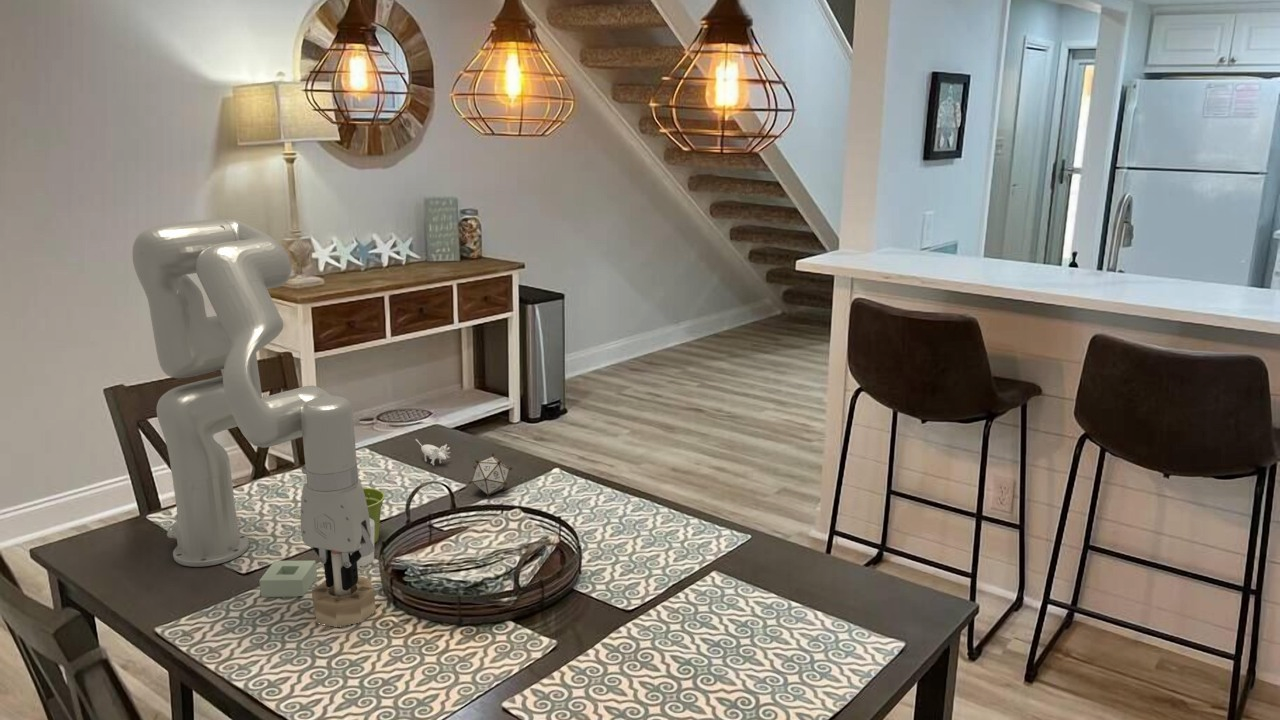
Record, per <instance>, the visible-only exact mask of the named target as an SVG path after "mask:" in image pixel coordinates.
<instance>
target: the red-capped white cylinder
mask: <svg viewBox="0 0 1280 720" xmlns="http://www.w3.org/2000/svg"><path fill="white" fill-rule="evenodd" d="M331 558H332V569H333V579H334V590H335V596H337V597H341V596H346V595H351V590H350V589H349V590H347V591H346V590H343V589H342V579H341V567H343V566H344V565H343V558H342V552H337V551H331Z"/></svg>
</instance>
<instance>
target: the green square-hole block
mask: <svg viewBox="0 0 1280 720" xmlns="http://www.w3.org/2000/svg"><path fill="white" fill-rule="evenodd" d="M316 563H317V561H316V560H274V561H273V562H272V564H271V565H270V566H269V567H268V569H267V570H266V571H265V573H264V574H263V575H262V577H261V578H260V579H259V581H258V582H259V589H260V597H261V598H282V597H283V598H284V597H285V598H296V597H297V596H304V597H305V596H306V594H307V592H308V591H309V589H310V588H311V586H312V585H313V583H314V582H315V580H316V579H317V577H318V572H317V570H318V569H317V564H316ZM307 590H308V591H307ZM305 593H306V594H305ZM297 598H298V597H297Z"/></svg>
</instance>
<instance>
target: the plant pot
mask: <svg viewBox="0 0 1280 720" xmlns="http://www.w3.org/2000/svg"><path fill="white" fill-rule="evenodd" d="M363 490H364V494H365V498H366V502H367V507H368V512H369V518H371V519H372V520H374V523H375V534H374V544H376V543H377V542H378V540H379V538H380V526H381V525H380V524H381V511H382V506H383V504H384V503H383V502H384V500H385V498H386V496H385V495H386V494H385V492H384V491H383V490H380V489H378V488H373V487H363Z"/></svg>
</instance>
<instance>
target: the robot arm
mask: <svg viewBox="0 0 1280 720" xmlns="http://www.w3.org/2000/svg"><path fill="white" fill-rule="evenodd" d="M131 255H132V263H133V268H134V271H135V273H136V276H137V279H138V281H139V282H140V285H141V287H142V289H143V291H144V293H145V296H146V298H147V302H148V306H149V313H150V314H149V315H150V320H151V325H152V332H153V337H154V343H155V349H156V353H157V354H156V355H157V359H158V362H159V366H160V368H161V370H162V371H163V373H164V374H165V375H166V376H167V377H171V378H173V379H174V378H175V379H184V378H185V379H186V378H189V377H196V376H199V375H203V374H208V373H213V372H216V371H217V372H218V371H220V372H221V375H219V376H215V377H211V378H208V379H202V380H198V381H193V382H190V383H186V384H182V385H179V386H176V387H173V388H171V389H169V390H168V391H166V392H165V393H163V395H161V397H160V398H159V399H158V401H157V404H156V416H157V420H158V423H159V427H160V429H161V432H162V434H163V437H164V441H165V444H166V448H167V453H168V458H169V463H170V464H169V465H170V470H171V476H172V485H173V491H174V492H173V493H174V498H175V507H176V513H177V521H175V522H174V523H172V525H171V529H169V530H168V531H167V533H166V536H167V537H168V538H169V539H176V542H177V545H176V546H175V548H174V549H173V550H172V556H173V560H174V561H175V562H176V563H177V564H178V565H181V566H186V567H194V568H198V567H199V568H200V567H210V566H216V565H220V564H223V563H226V562H227V563H228V562H229V561H232V560H235V559H237V558H238V557H241V556H242V555H243V554H244V553H245V552H246V551H247V550H248V549H249V546H250V541H249V536H247V535H246V534H243V533H242V532H239V527H238V526H239V525H238V520H237V510H236V502H235V501H236V500H235V495H234V494H235V493H234V486H233V480H232V479H233V477H232V469H231V461H230V457H229V454H228V452H227V449H225V448H224V447H223V446H222V445H221V444H220V443H218V442H217V441H216V440H215V438H214V435H216V434H218V433H221V432H223V431H227V430H229V429H230V430H231V429H233V428H236V427H238V428H239V430H240V432H241V433H242V435H243V437H244V438H245V440H247V441H248V442H249V443H250V444H252V445H253V446H255V447H259V448H271V447H274V446H277V445H280V444H283V443H286V442H290V441H294V440H296V439H299V438H302V442H303V443H302V444H303V455H304V463H305V464H304V465H302V467H301V473H302V474H303V475H306V483H304V484H303V486H302V492H301V497H300V498H301V499H300V531H301V540H302V542H303V543H304V544H305V545H307V546H308V547H309V548H311V549H313V551H314V552H315V554H316V555H318V558H319V562H320V563H321V564H323V568H324V569H323V570H324V576H325V581H326V586H327V587H332V586H333V585H334V579H333V569H332V558H331V551H337V552H342V558H343V565H344V566H343V567H341V579H342V589H343V590H346V591H347V590H349V589H350V588H351V587H353V586H354V585H355V584H356V583H357V582H358V576H359V572H358V567H357V561H359V560H360V558H361V557H365V556H368V555H370V554H371V553H373V552H374V553H375V551H376V548H375V545H374V546H373V544H372V542H371V540H370V538H371V529H370V519H369V512H368V507H367V502H366V498H365V494H364V490H363V488H364V487H363V484H362V483H360V482H359V474H358V473H359V472H358V470H359V469H358V461H357V460H358V459H357V449H356V446H357V445H356V436H355V425H354V416H353V415H354V411H353V406H352V403H351V401H349V400H348V399H347V398H345V397H342V396H338V395H331V394H330V393H329V392H328V391H326V390H324V389H323V388H321V387H319V386H315V385H304V386H301V387H298V388H294V389H290V390H285V391H281V392H278V393H275V394H271V395H266V396H264V397H263V393H262V387H261V385H262V384H261V380H260V379H261V378H260V372H259V366H258V364H259V363H258V358H257V352H259V351H260V350H262V349H263V348H264V347H266V346H267V345H268V344H270V343H271V342H272V341H274V340H275V339H276V338H277V337H278V336H279V335H280V334H281V333H282V332H283V329H284V321H283V318H282V317H281V315H280V313H279V311H278V309H277V306H276V305H275V302H274V301H273V298H272V297H271V295H270V292H269V289H273V288H274V289H275V288H280V287H282V286H284V285H285V284H287V282H288V281H289V280H290V278H291V272H292V266H291V260H290V258H289V255H288V253H287V251H286V250H285V249H284V247H283V245H281V244H280V243H279V242H278V241H277V240H276V239H275V238H273V237H272V236H271V235H269V234H267V233H265V232H263V231H261V230H259V229H257V228H255V227H253V226H251V225H249V224H247V223H245V222H243V221H241V220H238V219H234V218H215V219H206V220H205V219H204V220H197V221H184V222H182V221H181V222H174V223H166V224H161V225H156V226H153V227H149V228H147V229H144V230H143V231H141V232H140V233H139V234H138V235H137V236H136V238H135V240H134V242H133V245H132V253H131ZM193 274H196V275H197V278H198V280H199V281H200V283H201V286H202V288H203V290H204V292H205V293H206V296H207V298H208V300H209V302H210V305H211V306H212V308H213V310H214V312H215V315H213V316H208V317H207V311H206V307H205V306H206V305H205V299H204V298H205V297H204V294H203V293H202V291H201V289H200V288H199V286H198V285H197V284H196V283H195V281H193V280H192V279H191V278H190V277H189V276H188V275H193ZM360 545H361V548H360V549H359V546H360Z"/></svg>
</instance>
